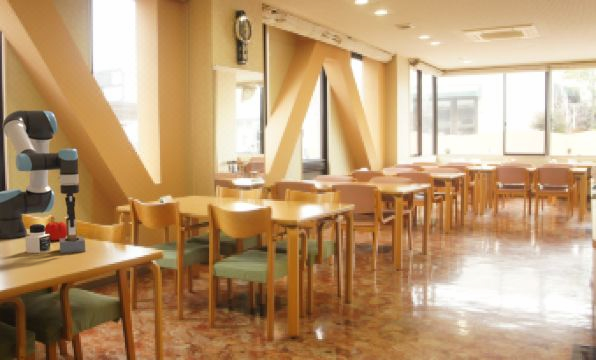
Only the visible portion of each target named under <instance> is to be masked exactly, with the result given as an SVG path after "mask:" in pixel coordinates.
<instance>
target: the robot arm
mask: <svg viewBox="0 0 596 360" xmlns="http://www.w3.org/2000/svg"><path fill="white" fill-rule="evenodd" d="M2 131H3V133H4V134H5V136H6V137H8V138H9V140H10V143H11V145H12V146H13V149H14V152H16V154H17V155H15V166H16V169H17V171H19V172H29V182H28V183H29V184H27V186H26V187H25V191H22V190H21V189H20V188H15V189H14V188H13V189H8V190H2V191H0V239H1V240H3V239H4V240H5V239H16V238H23V237H26V236H27V235H28V230H27V228H26V226H25V223H24V221H23V215H31V214H43V213H49V212H51V210H53V208H54V205H55V199H56V198H55V191H54V190H53V189H51V186H50V185H49V171H58V170H59V177H58V178H57V179H59V182H60V183H59V184H61V185H60V186H59V187H60V188H59V189H60V193H61V194H62V195H66V196H65V197H64V199H65V200H64V201H65V205H66V219H67V220H68V225H69V235H76V231H77V227H76V228H75V218H76V211H75V207H76V197H75V196H74V194H78V193H80V184H79V183H80V178H79V177H80V175H79V160H78V159H79V155H78V149H76V148H60V149H59V150H58V152H50V142H51V140H53V139H54V135H57V134H58V123H57V118H56V116H55V114H54V113H53V112H52V111H50V110H22V109H21V110H19V109H18V110H16V111H12V112H11V113H9V114H8V115H7V116H6V117H5V118H4V119H3V122H2Z"/></svg>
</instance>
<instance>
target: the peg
mask: <svg viewBox="0 0 596 360" xmlns="http://www.w3.org/2000/svg"><path fill="white" fill-rule="evenodd" d="M65 222H66V223H65V225H66V227H67V236H66V238H67V241H74V240H77V237H78V236H77V234H78V233H77V230H76V235H69V225H68V220H67V218H66V219H65ZM75 228H76V229H77V218H76V217H75Z"/></svg>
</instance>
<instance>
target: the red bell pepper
mask: <svg viewBox="0 0 596 360" xmlns="http://www.w3.org/2000/svg"><path fill="white" fill-rule="evenodd" d="M44 234H50V241H59V239H60V238H67V227H66V223H65V222H64V221H63V222H62V221H60V222H58V221H52V222H51V223H50V222H49V223H47V224H46V225H45V233H44Z"/></svg>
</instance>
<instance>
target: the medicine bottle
mask: <svg viewBox="0 0 596 360" xmlns="http://www.w3.org/2000/svg"><path fill="white" fill-rule="evenodd" d="M45 227H46V225H45V224H43V223H34V224H31V225H30V226H29V235H28V236H27V235H26V236H24V237H25V253H28V254H43V253H45V252H49V251H50V250H51V240H50V234H45Z"/></svg>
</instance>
